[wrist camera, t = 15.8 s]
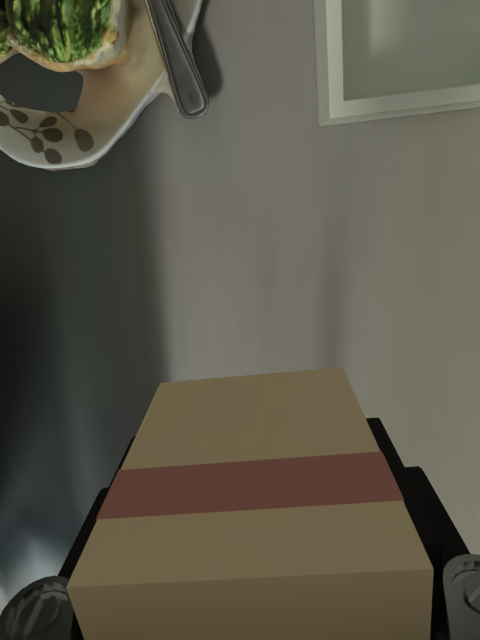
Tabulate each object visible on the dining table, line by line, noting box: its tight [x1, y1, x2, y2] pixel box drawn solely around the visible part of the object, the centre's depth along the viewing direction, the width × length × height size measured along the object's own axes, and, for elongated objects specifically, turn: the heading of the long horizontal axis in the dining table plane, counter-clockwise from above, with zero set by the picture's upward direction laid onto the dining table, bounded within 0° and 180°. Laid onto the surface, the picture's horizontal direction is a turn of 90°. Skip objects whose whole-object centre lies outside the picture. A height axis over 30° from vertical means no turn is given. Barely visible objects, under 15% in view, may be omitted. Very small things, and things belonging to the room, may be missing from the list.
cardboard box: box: [66, 367, 434, 640], centre depth 9 cm, size 5×5×6 cm
